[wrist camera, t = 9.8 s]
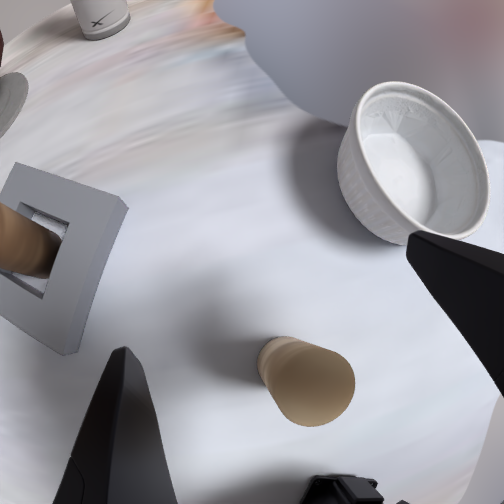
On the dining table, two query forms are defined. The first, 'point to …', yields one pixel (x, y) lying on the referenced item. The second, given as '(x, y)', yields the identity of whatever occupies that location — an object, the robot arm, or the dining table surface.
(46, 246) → the walnut pin
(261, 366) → the short beech pin
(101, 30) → the travel mug
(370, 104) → the ramekin
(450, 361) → the dining table surface
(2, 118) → the mate gourd
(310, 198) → the dining table surface
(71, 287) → the socket board
